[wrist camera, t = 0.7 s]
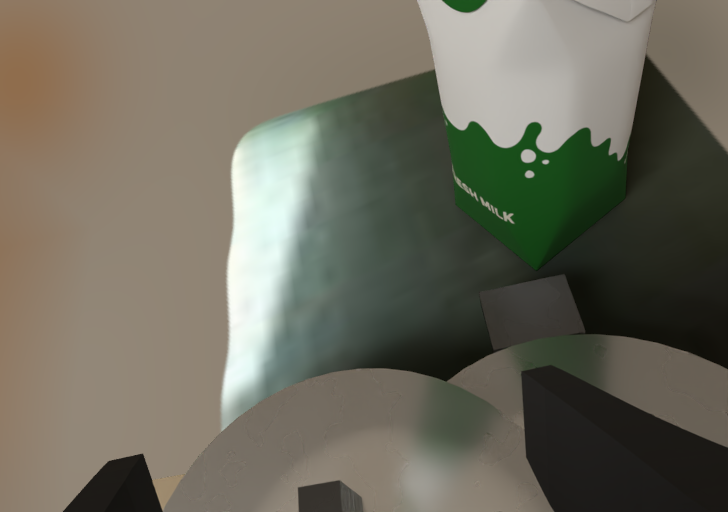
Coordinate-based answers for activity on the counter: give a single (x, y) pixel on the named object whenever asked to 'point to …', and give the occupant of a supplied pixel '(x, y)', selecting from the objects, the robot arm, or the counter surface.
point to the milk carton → (538, 111)
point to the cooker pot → (580, 364)
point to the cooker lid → (365, 452)
